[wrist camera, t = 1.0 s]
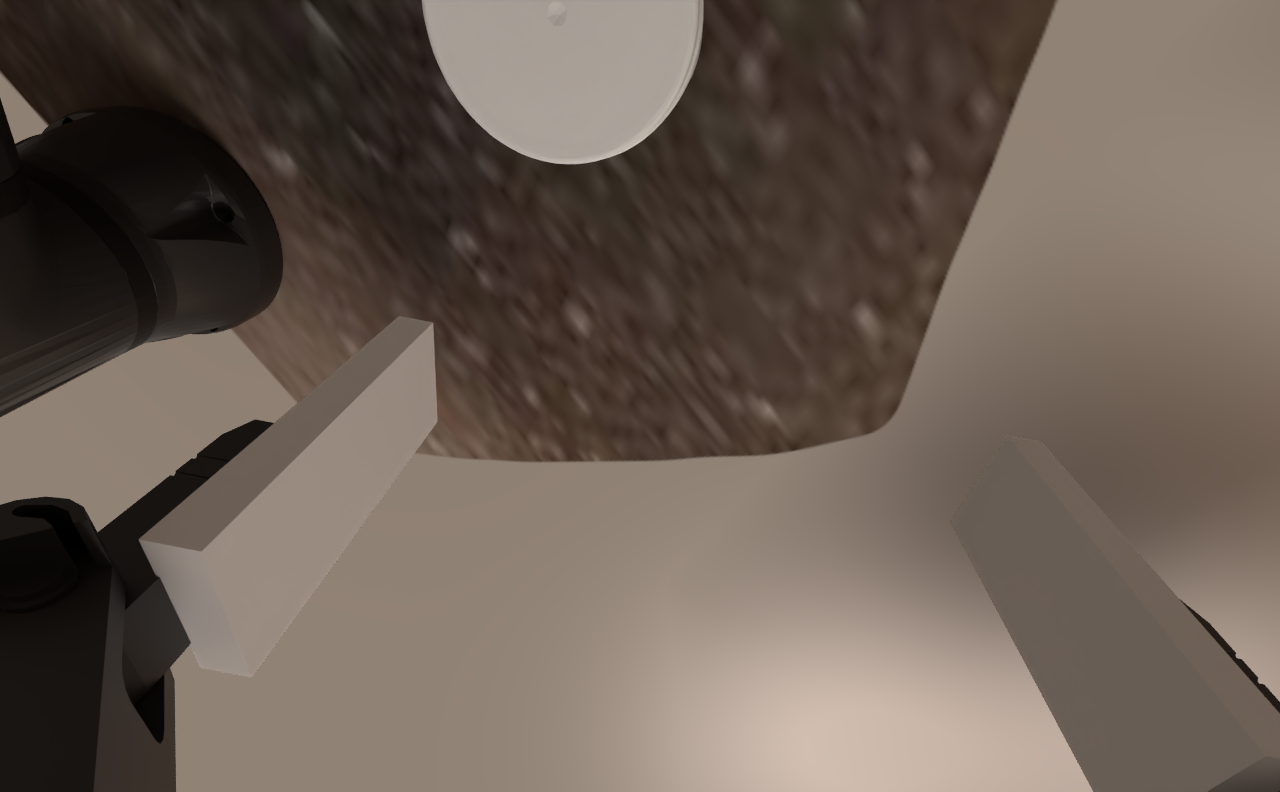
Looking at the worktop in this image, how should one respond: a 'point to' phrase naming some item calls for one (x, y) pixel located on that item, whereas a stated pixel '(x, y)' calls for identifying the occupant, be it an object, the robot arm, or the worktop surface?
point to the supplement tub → (566, 69)
